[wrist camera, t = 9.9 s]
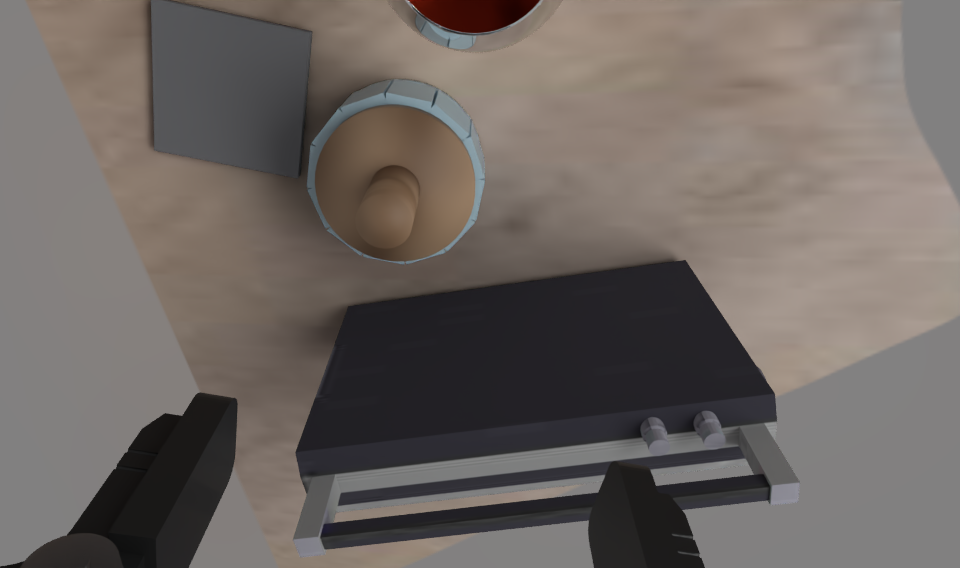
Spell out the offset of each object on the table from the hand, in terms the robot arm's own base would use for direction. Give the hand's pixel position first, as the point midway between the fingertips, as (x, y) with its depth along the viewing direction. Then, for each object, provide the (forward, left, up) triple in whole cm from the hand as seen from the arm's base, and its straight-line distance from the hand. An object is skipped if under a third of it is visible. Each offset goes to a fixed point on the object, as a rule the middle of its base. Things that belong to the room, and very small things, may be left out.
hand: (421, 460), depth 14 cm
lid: (+3, -3, -25) cm, 25 cm away
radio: (+12, +7, -30) cm, 34 cm away
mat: (+1, -14, -30) cm, 33 cm away
